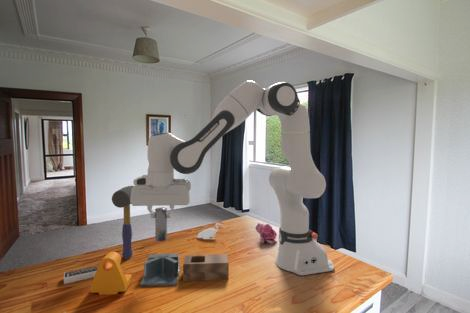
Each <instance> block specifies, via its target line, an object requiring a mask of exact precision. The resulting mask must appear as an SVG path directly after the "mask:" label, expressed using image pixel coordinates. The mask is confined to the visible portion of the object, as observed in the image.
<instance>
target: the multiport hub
mask: <svg viewBox="0 0 470 313" xmlns="http://www.w3.org/2000/svg"><path fill="white" fill-rule="evenodd" d="M97 268H98V265H94V266H90V267H85V268H80V269H76V270H71V271H66V272H64V273H63V285H67V284H70V283H76V282H79V281H84V280H88V279H92V278H94V276H95V273H96V271H97Z"/></svg>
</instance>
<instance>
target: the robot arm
mask: <svg viewBox="0 0 470 313" xmlns="http://www.w3.org/2000/svg"><path fill="white" fill-rule="evenodd" d="M255 111H256V112H258V113H260V114H261V115H263V116H267V117H272V116H276V117H277V116H278V119H279V122H280V151H281V152H280V153H281V155H283V157H284V158H285V159H286V160H287V162H288V166H286V165H285V166H278V167H274V168H273V169H272V170H271V171H270V173H269V177H268V182H269V184H270V186H271V187H272V188H271V189H273V191H274V193H275V194H276V198H277V201H278V205H279V210H280V227H279V231H278V242H279V245H278V251H277V255H276V259H275V264H276V266H278V267H279V268H280V269H282V270H285V271H287V272H291V273H294V274H296V275H298V276H307V275H312V274H319V273H325V272H331V271H334V269H335V266H334V263H333V262H332V261H331V259H330V258H329V257H328V253H327V251H326V249H325V248H324V246H323V245H321V244H320V243H319V242H318V241H316V240H317V239H318V236H319V235H318V234H317V233H316V232H314V231H312V230H311V229H309V227H310V226H309V225H310V212H309V209H308V207H307V206H306V205H305V204H304V201H302V198H303V199H317V198H320V197H322V195H323V194H324V193H325V191H326V187H327V182H326V179H325V176H324V174H323V173H321V172H320V171H319V169H318V167H317V166H316V164H315V161H314V160H313V156H312V153H311V133H310V132H311V126H310V117H309V112H308V108H307V107H306V106H305V105H304V104H301V102H300V98H299V96H298V92H297V90H296V88H295V87H294V85H292V84H291V83H289V82H285V81H281V82H277V83H274V84H272V85H270V86H268V87H266V88H262V86H260V84H259V83H257V82H255V81H253V80H246V81H244V82H242V83H241V84H240V85H238V86H236V87H235V88H234V89H233V90H232V91H230V92H229V93H228V94H227V95H226V96H225V97H224V98H223V99H222V100H221V101H220V102H219V104H218V105H217V107H216V109H215V110H214V113H213V116H212V118H211V119H210V121H209V122H208V123H207V124H206V125H205V126H204V127H202V129H200V131H199V132H198V133H197V134H196V135H194V136H193V137H192V138H191V139H190V140H187V141H185V140H183V139H181V138H179V137H176V136H175V135H173V134H172V133H171V132H159V133H156V134H153V135H151V136H150V137H149V139H148V144H147V162H148V167H147V174H143V175H141V176H138V177H136V178H134V179H133V181H132V182H133V186H134V187H133V188H132V190H131V198H130V203H131V204H130V205H131V206H133V207H144V206H145V207H146V206H147V208H146V209H147V211H148V212H149V214H150V219H155V211H154V210H153V209H152V208H153V207H154V206H156V207H157V206H158V207H160V206H162V207H164V206H167V207H168V206H169V209H170V210H169V211H167V213H166V215H167V216H166V218H167V219H171V218H172V212H173V211H174V209H175V206H189V204H190V202H191V195H190V194H191V193H190V190H191V188H192V187H191V186H192V185H191V181H190V180H187V179H186V178H175V173H174V172H175V171H176V172H178V173H180V174H184V175H190V174H194V173H195V172H196V171H197V170H199V168H200V167H201V166H202V163H203V160H204V158H205V156H206V154H207V153H208V151H209V150H211V148H212V147H213V146H214V145H216V143H217V142H218V141H219V140H220V139H222V137H223V136H225V135H226V134H227V133H228V132H230V131H231V130H234V129H235V128H237V127H238V126H241V124H242V123H243V122H244V121H246V120H247V119H248V118H249V117H250V116H251V115H252V114H253V113H254V112H255ZM174 170H175V171H174Z"/></svg>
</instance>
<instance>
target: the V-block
mask: <svg viewBox="0 0 470 313" xmlns="http://www.w3.org/2000/svg"><path fill="white" fill-rule="evenodd" d="M181 267H182V266H181V265H180V253H175V252H174V253H155V254H152V253H149V255H148V256H147V261H144V262H143V277H142V279H141V281H140V284H139V287H141V288H142V287H161V286H163V287H164V286H165V287H166V286H177V285H178V284H177V283H178V282H179V281H178V280H179V276H180V271H181Z"/></svg>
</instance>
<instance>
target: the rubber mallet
mask: <svg viewBox="0 0 470 313" xmlns="http://www.w3.org/2000/svg"><path fill="white" fill-rule="evenodd" d="M134 186H135V185H128V186H124V187H122V188H120V189H118V190H117V191H115V192H114V193H113V194H112V196H111V202H112V204H113V205H114V207H117V208H118V209H119V208H123V224H122V231H121V238H122V252H121V257H122V258H123V259H124V260H129V259H131V258H132V256H133V250H132V249H133V248H132V238H133V231H132V230H133V229H132V224H131V205H132V204H131V203H130V198H131V190H132V188H133V187H134Z"/></svg>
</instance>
